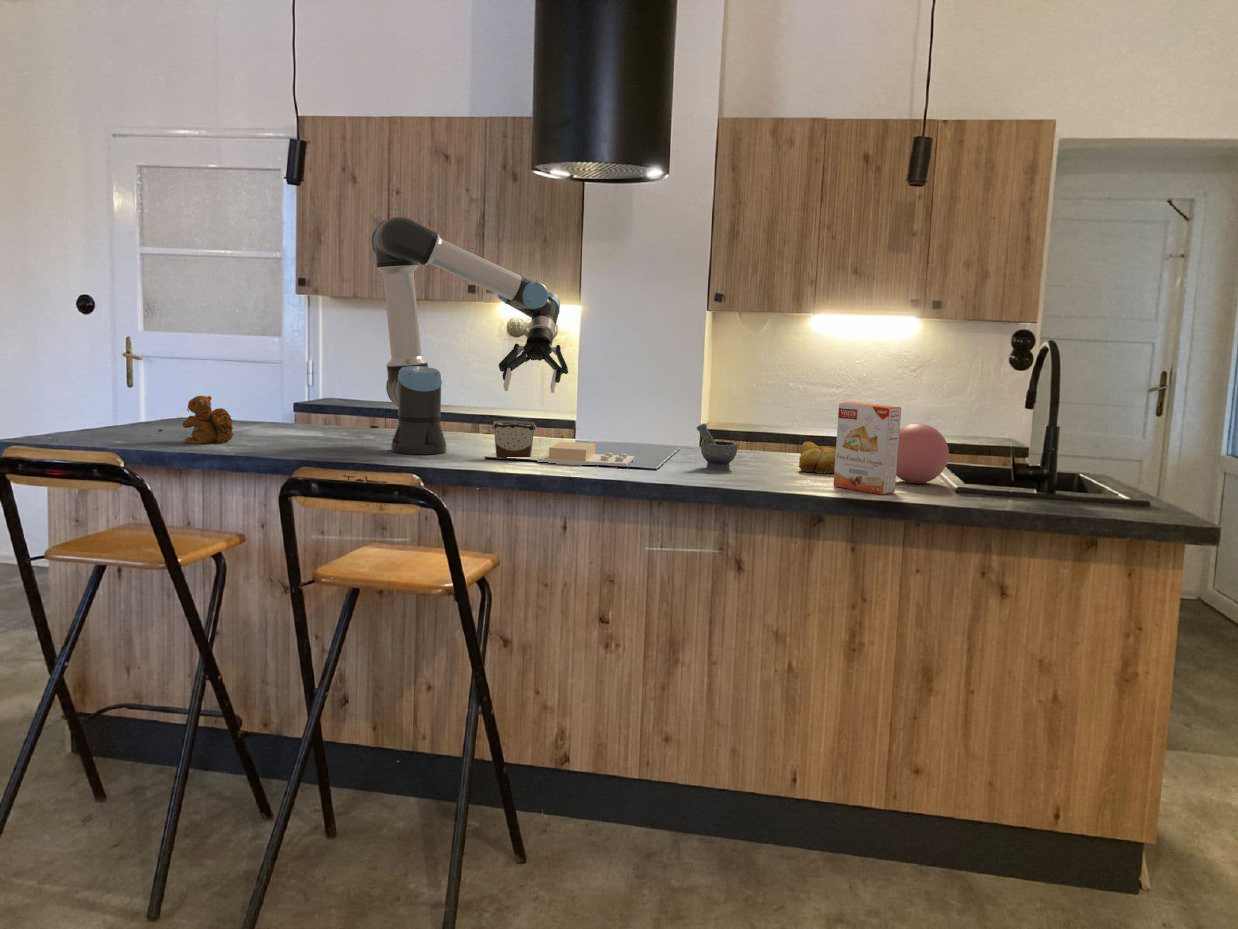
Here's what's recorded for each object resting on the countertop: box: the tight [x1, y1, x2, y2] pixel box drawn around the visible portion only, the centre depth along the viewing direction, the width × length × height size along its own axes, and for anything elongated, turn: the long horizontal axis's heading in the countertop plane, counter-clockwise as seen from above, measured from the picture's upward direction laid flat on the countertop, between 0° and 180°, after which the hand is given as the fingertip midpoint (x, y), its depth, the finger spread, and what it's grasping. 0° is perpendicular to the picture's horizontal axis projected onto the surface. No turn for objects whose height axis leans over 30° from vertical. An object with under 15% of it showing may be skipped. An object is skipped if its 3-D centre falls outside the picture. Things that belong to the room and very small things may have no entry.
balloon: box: [896, 423, 950, 485], centre depth 263 cm, size 15×20×15 cm
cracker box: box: [832, 401, 902, 496], centre depth 245 cm, size 14×6×21 cm, turn 45°
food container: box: [491, 420, 537, 459], centre depth 280 cm, size 12×6×10 cm, turn 84°
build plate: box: [536, 441, 635, 466], centre depth 277 cm, size 24×16×4 cm, turn 82°
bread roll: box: [798, 440, 836, 474], centre depth 274 cm, size 13×10×8 cm
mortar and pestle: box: [696, 422, 739, 471], centre depth 274 cm, size 11×9×12 cm
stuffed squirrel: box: [181, 395, 235, 445], centre depth 286 cm, size 10×14×13 cm
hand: (528, 388), depth 290 cm, fingers open, 13 cm apart
